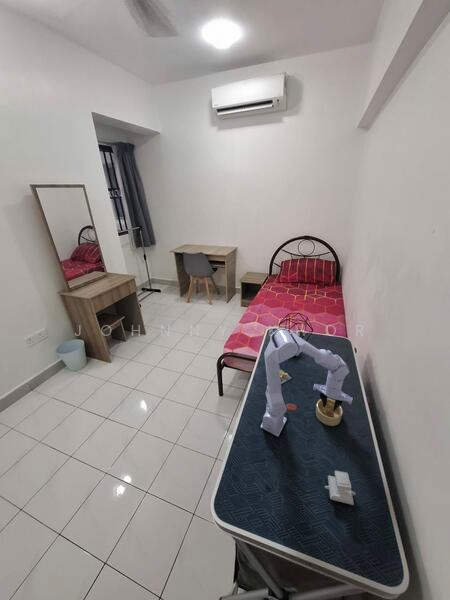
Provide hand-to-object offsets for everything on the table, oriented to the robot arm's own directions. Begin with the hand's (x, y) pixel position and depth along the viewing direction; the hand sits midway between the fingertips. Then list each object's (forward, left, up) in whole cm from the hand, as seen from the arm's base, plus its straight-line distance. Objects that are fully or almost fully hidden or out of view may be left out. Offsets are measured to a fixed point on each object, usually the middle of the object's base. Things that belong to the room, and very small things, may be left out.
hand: (329, 407), depth 100 cm
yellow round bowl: (0, 0, -5) cm, 5 cm away
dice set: (+11, +26, -5) cm, 29 cm away
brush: (0, 0, -4) cm, 4 cm away
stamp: (-28, -10, -5) cm, 30 cm away
